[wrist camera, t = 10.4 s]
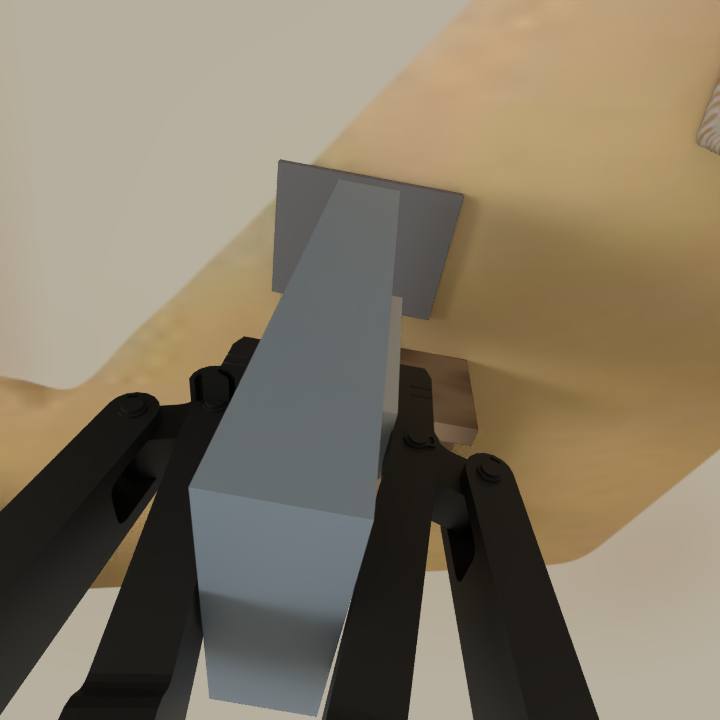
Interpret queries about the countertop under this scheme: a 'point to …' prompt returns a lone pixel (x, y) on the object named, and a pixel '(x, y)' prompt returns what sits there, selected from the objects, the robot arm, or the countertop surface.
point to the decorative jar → (711, 124)
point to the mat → (414, 231)
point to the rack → (448, 396)
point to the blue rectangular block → (298, 466)
